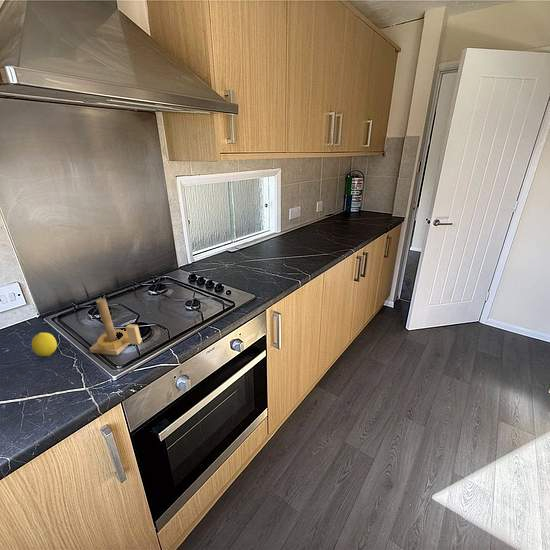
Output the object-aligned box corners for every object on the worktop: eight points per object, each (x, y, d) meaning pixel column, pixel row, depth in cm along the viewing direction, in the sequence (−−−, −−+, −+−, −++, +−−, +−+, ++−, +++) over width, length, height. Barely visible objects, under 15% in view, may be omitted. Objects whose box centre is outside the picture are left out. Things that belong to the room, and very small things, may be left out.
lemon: (32, 361, 84) (22, 338, 81) (48, 349, 89) (39, 327, 86) (49, 362, 83) (40, 339, 80) (65, 350, 88) (56, 327, 85)
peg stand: (90, 352, 87) (74, 306, 81) (111, 335, 95) (98, 292, 89) (117, 355, 85) (103, 309, 79) (136, 337, 93) (124, 294, 87)
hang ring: (92, 348, 86) (86, 330, 84) (111, 331, 94) (106, 315, 92) (131, 352, 84) (126, 334, 82) (148, 335, 92) (144, 318, 89)
